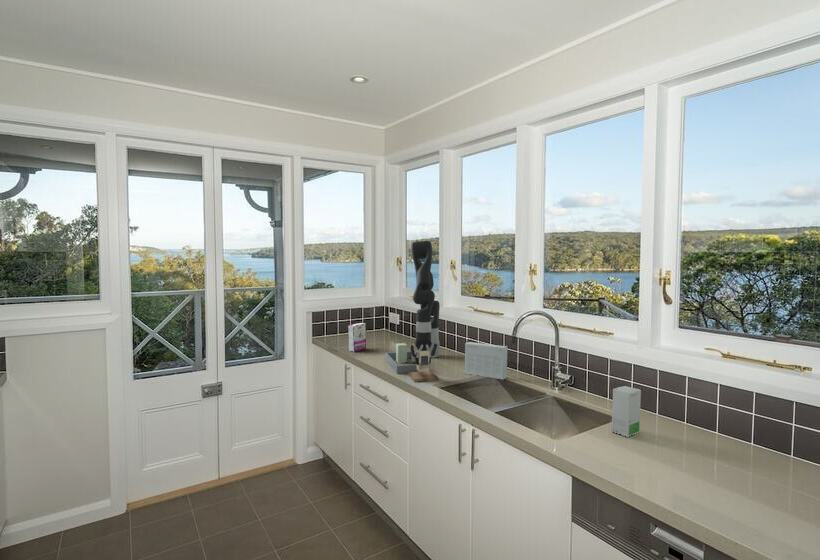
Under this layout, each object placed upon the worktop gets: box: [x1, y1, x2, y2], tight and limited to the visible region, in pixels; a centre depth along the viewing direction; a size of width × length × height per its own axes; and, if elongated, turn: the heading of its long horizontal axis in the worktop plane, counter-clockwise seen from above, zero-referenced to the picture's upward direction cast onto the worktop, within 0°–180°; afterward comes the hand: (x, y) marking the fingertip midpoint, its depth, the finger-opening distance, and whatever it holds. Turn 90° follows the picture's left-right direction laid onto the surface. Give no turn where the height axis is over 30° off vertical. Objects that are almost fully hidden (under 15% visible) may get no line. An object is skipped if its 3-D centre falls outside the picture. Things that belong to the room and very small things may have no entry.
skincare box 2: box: [610, 385, 642, 438], centre depth 161 cm, size 8×7×16 cm
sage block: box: [395, 342, 408, 364], centre depth 257 cm, size 5×5×10 cm
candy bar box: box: [347, 322, 367, 353], centre depth 284 cm, size 11×5×16 cm, turn 143°
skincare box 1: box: [464, 341, 508, 381], centre depth 231 cm, size 21×5×16 cm, turn 59°
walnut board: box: [407, 370, 439, 383], centre depth 226 cm, size 12×12×2 cm
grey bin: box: [384, 350, 419, 374], centre depth 249 cm, size 16×30×4 cm, turn 15°
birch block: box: [417, 350, 430, 372], centre depth 225 cm, size 5×5×10 cm
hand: (423, 364), depth 226 cm, fingers closed on birch block, 5 cm apart
